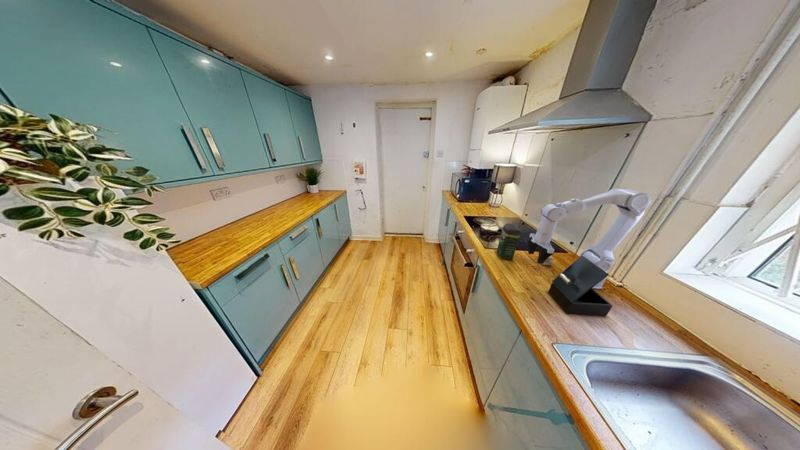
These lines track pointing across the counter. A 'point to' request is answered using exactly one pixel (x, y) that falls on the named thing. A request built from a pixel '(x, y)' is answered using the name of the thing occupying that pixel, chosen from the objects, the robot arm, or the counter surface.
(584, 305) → the block
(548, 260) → the scrap block
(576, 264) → the caddy lid
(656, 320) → the counter surface
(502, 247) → the coffee jar
